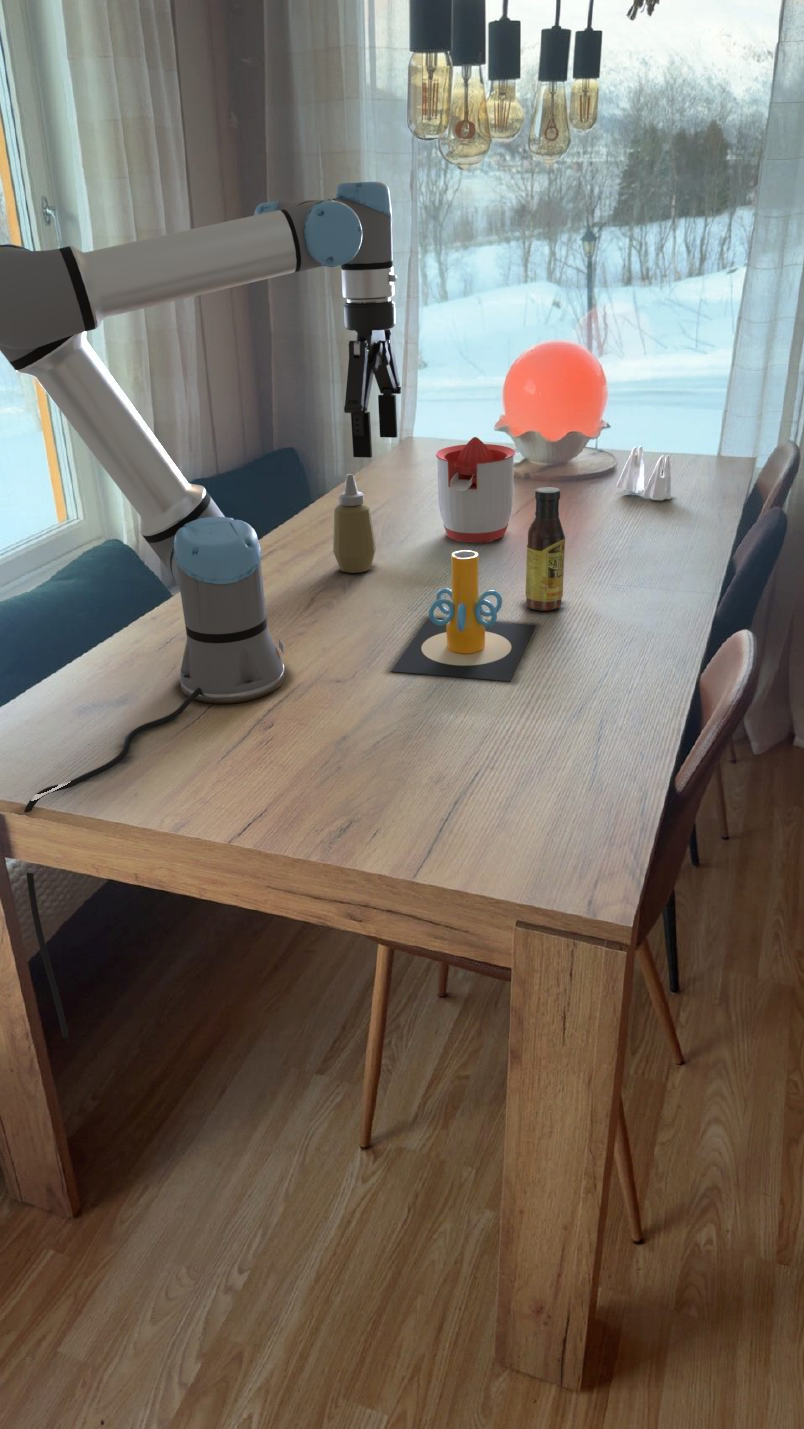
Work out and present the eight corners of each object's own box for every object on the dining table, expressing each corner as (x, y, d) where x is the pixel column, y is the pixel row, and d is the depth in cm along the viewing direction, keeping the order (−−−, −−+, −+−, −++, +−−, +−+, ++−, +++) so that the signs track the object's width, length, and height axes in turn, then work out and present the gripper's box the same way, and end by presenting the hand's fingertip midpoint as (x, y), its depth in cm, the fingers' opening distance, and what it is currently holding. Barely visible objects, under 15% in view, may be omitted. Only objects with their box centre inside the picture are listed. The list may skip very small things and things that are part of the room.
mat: (510, 681, 153) (510, 681, 153) (391, 671, 157) (391, 671, 157) (535, 625, 171) (535, 624, 171) (428, 618, 176) (428, 617, 176)
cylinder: (494, 664, 158) (494, 569, 151) (426, 661, 160) (423, 566, 153) (504, 633, 169) (504, 542, 162) (439, 630, 171) (437, 541, 164)
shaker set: (614, 495, 239) (617, 446, 234) (623, 491, 242) (626, 442, 237) (663, 502, 232) (666, 452, 227) (671, 498, 235) (675, 448, 230)
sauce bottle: (552, 615, 175) (556, 497, 166) (518, 609, 178) (520, 493, 169) (569, 602, 180) (573, 487, 171) (535, 596, 183) (538, 483, 174)
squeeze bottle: (385, 567, 200) (381, 473, 192) (355, 578, 195) (349, 482, 187) (355, 559, 205) (350, 466, 197) (325, 570, 200) (318, 475, 192)
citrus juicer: (422, 546, 211) (419, 445, 202) (454, 521, 225) (452, 426, 216) (496, 553, 205) (496, 450, 196) (524, 528, 219) (525, 430, 210)
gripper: (367, 309, 142) (375, 466, 152) (416, 291, 163) (420, 430, 173) (315, 310, 144) (326, 465, 154) (370, 291, 165) (376, 429, 175)
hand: (376, 446), depth 163 cm, fingers open, 13 cm apart
